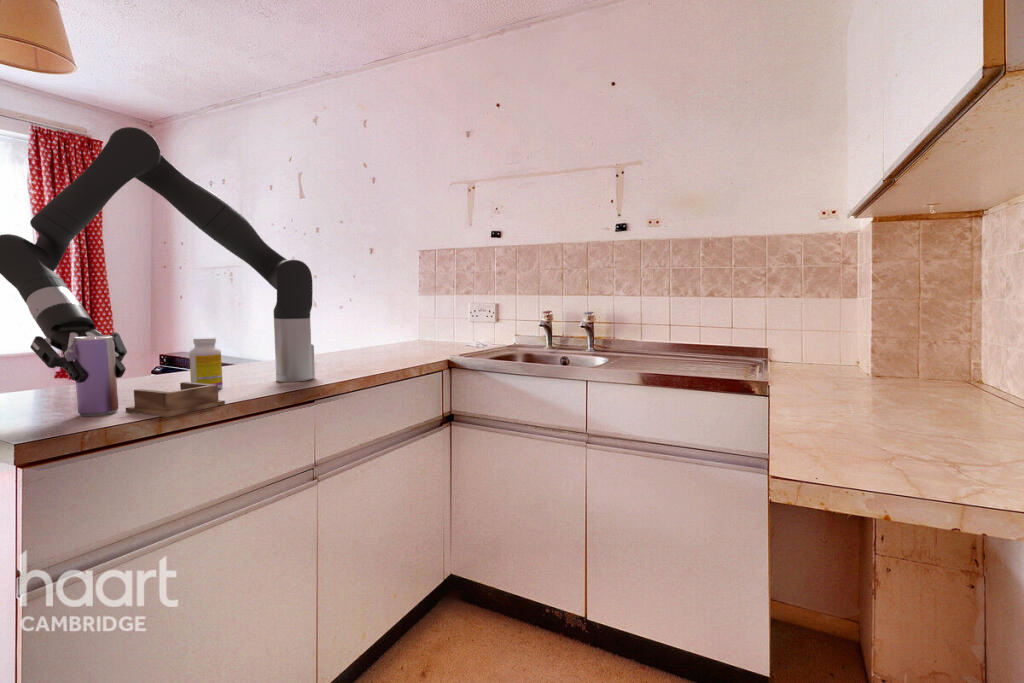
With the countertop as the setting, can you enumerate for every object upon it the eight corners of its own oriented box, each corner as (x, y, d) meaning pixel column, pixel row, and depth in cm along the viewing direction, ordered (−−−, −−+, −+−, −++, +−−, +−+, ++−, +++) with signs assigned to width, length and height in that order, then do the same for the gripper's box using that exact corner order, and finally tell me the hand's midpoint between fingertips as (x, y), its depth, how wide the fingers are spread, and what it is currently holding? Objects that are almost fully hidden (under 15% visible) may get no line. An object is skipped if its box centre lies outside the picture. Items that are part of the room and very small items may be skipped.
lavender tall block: (95, 418, 89) (89, 338, 88) (69, 416, 91) (63, 337, 89) (126, 410, 95) (121, 336, 94) (102, 409, 96) (97, 335, 95)
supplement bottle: (228, 388, 120) (226, 337, 119) (202, 392, 114) (199, 339, 113) (211, 386, 123) (209, 336, 122) (185, 390, 117) (182, 338, 116)
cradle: (185, 400, 106) (184, 380, 105) (224, 404, 102) (223, 384, 101) (125, 411, 95) (124, 390, 94) (167, 416, 90) (165, 394, 90)
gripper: (19, 301, 87) (63, 369, 84) (109, 301, 100) (150, 360, 97) (5, 329, 89) (48, 396, 86) (95, 326, 103) (134, 384, 100)
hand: (102, 377), depth 92 cm, fingers closed on lavender tall block, 6 cm apart
